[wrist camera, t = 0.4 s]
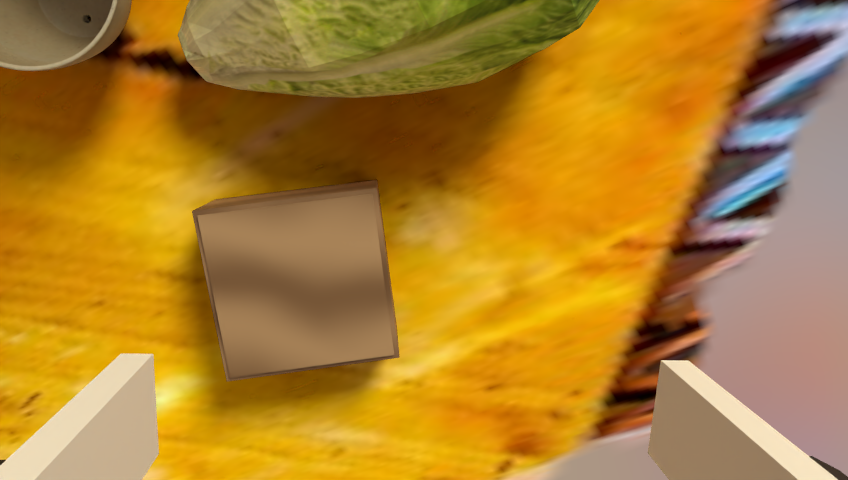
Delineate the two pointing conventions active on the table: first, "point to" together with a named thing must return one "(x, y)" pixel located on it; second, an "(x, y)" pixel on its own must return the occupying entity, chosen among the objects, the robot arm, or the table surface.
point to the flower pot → (57, 31)
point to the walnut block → (298, 279)
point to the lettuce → (368, 42)
